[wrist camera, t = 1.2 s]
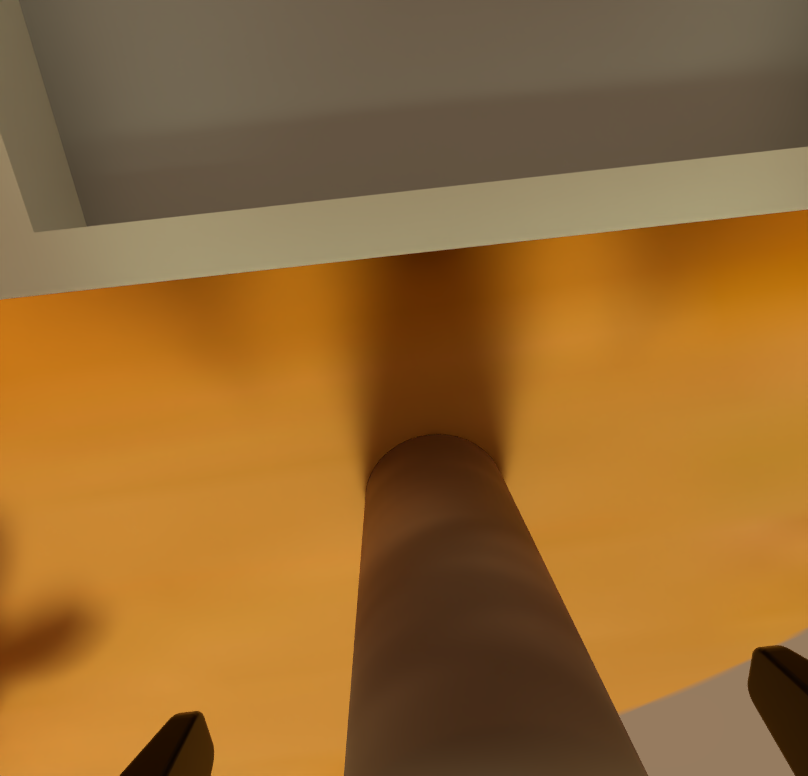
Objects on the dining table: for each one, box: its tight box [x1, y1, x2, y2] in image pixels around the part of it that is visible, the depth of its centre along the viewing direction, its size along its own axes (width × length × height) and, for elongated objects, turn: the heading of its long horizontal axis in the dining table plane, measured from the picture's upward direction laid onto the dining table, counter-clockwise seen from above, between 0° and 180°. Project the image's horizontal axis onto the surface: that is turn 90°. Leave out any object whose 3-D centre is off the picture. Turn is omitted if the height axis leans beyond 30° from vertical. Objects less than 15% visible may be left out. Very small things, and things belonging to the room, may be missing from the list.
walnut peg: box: [344, 434, 648, 776], centre depth 10 cm, size 4×4×8 cm
